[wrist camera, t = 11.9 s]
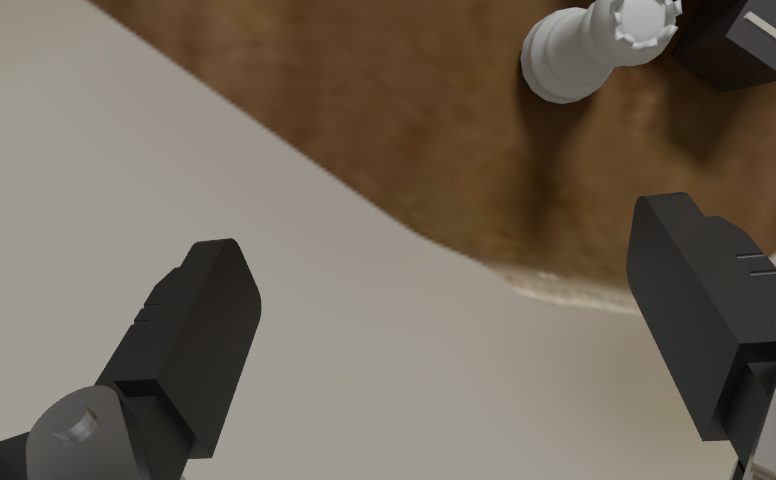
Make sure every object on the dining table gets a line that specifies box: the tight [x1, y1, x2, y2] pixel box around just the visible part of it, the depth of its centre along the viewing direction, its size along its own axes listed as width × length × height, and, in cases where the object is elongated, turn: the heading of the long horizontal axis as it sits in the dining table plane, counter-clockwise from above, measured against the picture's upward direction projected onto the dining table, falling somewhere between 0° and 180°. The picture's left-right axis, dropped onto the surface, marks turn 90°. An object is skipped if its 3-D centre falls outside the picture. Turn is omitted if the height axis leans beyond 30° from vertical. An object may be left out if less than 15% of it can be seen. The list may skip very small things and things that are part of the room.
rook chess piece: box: [520, 0, 682, 104], centre depth 22 cm, size 4×4×8 cm
